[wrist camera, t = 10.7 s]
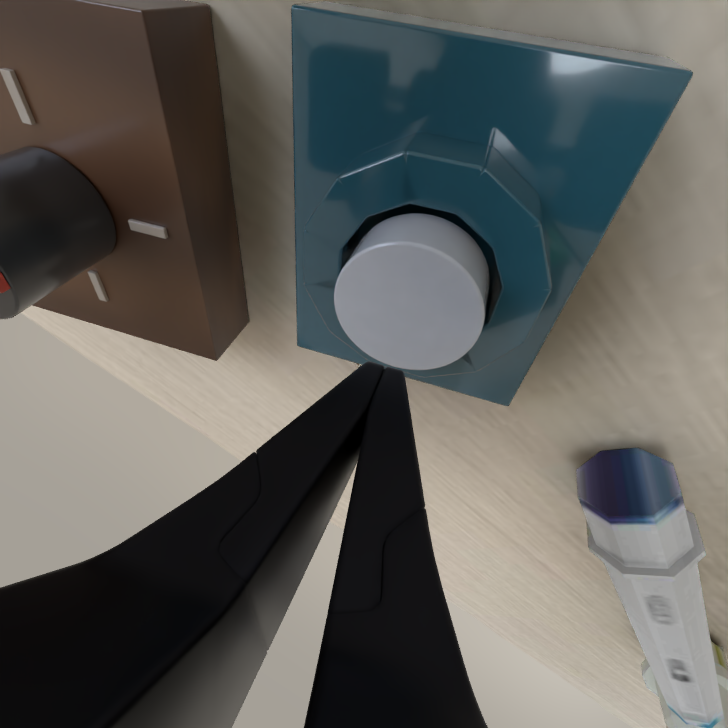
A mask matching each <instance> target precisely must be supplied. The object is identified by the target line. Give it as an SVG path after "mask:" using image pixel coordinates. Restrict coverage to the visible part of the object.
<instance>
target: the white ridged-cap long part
mask: <svg viewBox="0 0 728 728" xmlns="http://www.w3.org/2000/svg"><path fill="white" fill-rule="evenodd" d="M576 472H577V491H578V498H579V500H580V503H581V506H582V508H583V511H584V514H585V516H586V521H587V535H588V547H589V550H590V552H592V553H593V554H594V555H595V556H597V557H598V558H599V559H600V560H602V561H603V562H604V564H605V566H606V569H607V571H608V573H609V575H610V578H611V580H612V582H613V584H614V587H615V589H616V591H617V593H618V596H619V598H620V600H621V602H622V605H623V607H624V609H625V611H626V613H627V616H628V618H629V620H630V622H631V625H632V627H633V629H634V631H635V634H636V636H637V638H638V640H639V643H640V645H641V647H642V649H643V652H644V654H645V656H646V659H645V660H644V661H643V662H642V664H641V670H642V676H643V678H644V681H645V684H646V686H647V688H648V689H649V690H651V691H652V692H653V693H654V694H656V695H657V696H658V697H659V699H660V703H661V707H662V712H663V716H664V720H665V723H666V725H667V728H728V666H727V662H726V659H725V655H724V652H723V648H722V646H717V645H715V644H714V643H713V642H712V641H711V639H710V634H709V628H708V622H707V616H706V610H705V605H704V599H703V593H702V587H701V581H700V575H699V570H698V564H697V563H698V562H699V561H700V560H701V559H702V558H703V557H704V556H706V552H705V548H704V545H703V541H702V538H701V535H700V532H699V528H698V525H697V522H696V519H695V515H694V514H693V513H692V512H690V511H688V510H686V509H685V505H684V501H683V497H682V493H681V489H680V486H679V482H678V479H677V476H676V472H675V469H674V465H673V463H671V462H669V461H666V460H664V459H662V458H660V457H658V456H655V455H653V454H651V453H649V452H647V451H645V450H642V449H640V448H630V449H619V450H607V451H600V452H599V453H597V454H596V455H595V456H594V457H592V458H591V459H590V460H588V461H587V462H586V463H584V464H583V465H582V466H581V467H579V468H578V469H577V470H576Z"/></svg>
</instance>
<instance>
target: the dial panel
mask: <svg viewBox="0 0 728 728" xmlns="http://www.w3.org/2000/svg"><path fill="white" fill-rule="evenodd" d="M23 147H36V148H41V149H44V150H47V151H50V152H52V153H54V154H56V155H58V156H59V157H61V158H63V159H64V160H66V161H67V162H69V163H70V164H71V165H72V166H74V167H75V168H76V169H77V170H78V171H79V172H81V173H82V174H83V175H84V176H85V177H86V178H87V180H88V181H89V182H90V183H91V184H92V185H93V186H94V188H95V189H96V190H97V192H98V193H99V194H100V196H101V197H102V199H103V200H104V202H105V204H106V206H107V208H108V209H109V211H110V214H111V216H112V219H113V222H114V225H115V230H116V242H115V246H114V248H113V250H112V252H111V253H110V254H109V255H108V256H106V257H105V258H103V259H102V260H100V261H98V262H97V263H95V264H94V265H92V266H91V267H89V268H88V269H86V270H85V271H83V272H82V273H80V274H79V275H77V276H75V277H74V278H72V279H71V280H69V281H68V282H66V283H65V284H63V285H62V286H60V287H59V288H57V289H56V290H54V291H52V292H51V293H49V294H48V295H46V296H45V297H43V298H42V299H40V300H39V301H37V302H36V303H34V304H33V306H36V307H40V308H43V309H46V310H50V311H53V312H56V313H60V314H63V315H66V316H70V317H73V318H76V319H79V320H83V321H86V322H89V323H93V324H96V325H99V326H103V327H106V328H109V329H113V330H116V331H119V332H123V333H126V334H129V335H133V336H136V337H139V338H143V339H146V340H149V341H152V342H156V343H159V344H162V345H166V346H169V347H172V348H176V349H179V350H182V351H186V352H189V353H192V354H196V355H199V356H202V357H206V358H209V359H212V360H216V361H217V360H218V359H219V358H220V356H221V355H222V354H223V353H224V352H225V350H226V349H227V348H228V347H229V345H230V344H231V343H232V342H233V341H234V339H235V338H236V337H237V336H238V335H239V333H240V332H241V331H242V330H243V329H244V327H245V326H246V325H247V324H248V322H249V320H248V312H247V304H246V296H245V288H244V279H243V271H242V263H241V255H240V247H239V239H238V231H237V223H236V215H235V207H234V199H233V191H232V183H231V175H230V167H229V159H228V150H227V142H226V134H225V126H224V118H223V110H222V102H221V94H220V86H219V78H218V70H217V62H216V54H215V46H214V38H213V30H212V22H211V13H210V7H209V5H208V4H203V3H197V2H191V1H185V0H0V155H1V154H4V153H7V152H10V151H13V150H17V149H20V148H23Z"/></svg>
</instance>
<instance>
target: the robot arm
mask: <svg viewBox="0 0 728 728" xmlns="http://www.w3.org/2000/svg"><path fill="white" fill-rule="evenodd" d="M256 453H257V454H256ZM256 453H255V452H254V453H252V454H251V455H250V456H248V457H247V458H246V459H245V460H243V461H242V462H241V463H240V464H239V465H237V466H236V467H235V468H233V469H232V470H231V471H229V472H228V473H227V474H225V475H224V476H223V477H221V478H220V479H219V480H217V481H216V482H214V483H213V484H211V485H210V486H208V487H207V488H205V489H204V490H203V491H201V492H200V493H198V494H197V495H195V496H194V497H192V498H191V499H189V500H188V501H186V502H184V503H183V504H181V505H180V506H178V507H177V508H175V509H174V510H172V511H171V512H169V513H167V514H166V515H164V516H163V517H161V518H160V519H158V520H157V521H155V522H154V523H152V524H150V525H149V526H147V527H146V528H144V529H143V530H141V531H139V532H138V533H137V534H135V535H133V536H132V537H130V538H129V539H127V540H125V541H124V542H122V543H121V544H119V545H117V546H115V547H113V548H112V549H110V550H108V551H106V552H104V553H102V554H100V555H97V556H95V557H93V558H91V559H88V560H86V561H83V562H81V563H78V564H75V565H72V566H68V567H65V568H62V569H59V570H56V571H52V572H49V573H46V574H43V575H40V576H37V577H34V578H30V579H27V580H24V581H20V582H17V583H14V584H11V585H8V586H5V587H2V588H0V728H232V726H233V724H234V721H235V719H236V717H237V715H238V713H239V711H240V708H241V707H242V704H243V703H244V700H245V698H246V696H247V694H248V692H249V690H250V688H251V685H252V683H253V681H254V679H255V677H256V675H257V673H258V671H259V669H260V667H261V664H262V662H263V660H264V658H265V656H266V654H267V650H268V649H269V647H270V645H271V643H272V641H273V639H274V637H275V635H276V633H277V631H278V628H279V626H280V624H281V622H282V620H283V618H284V616H285V614H286V612H287V609H288V607H289V605H290V603H291V601H292V599H293V597H294V595H295V593H296V590H297V588H298V586H299V584H300V582H301V580H302V578H303V576H304V574H305V571H306V569H307V567H308V565H309V563H310V561H311V559H312V557H313V555H314V552H315V550H316V548H317V546H318V544H319V542H320V540H321V538H322V536H323V533H324V531H325V529H326V527H327V525H328V523H329V521H330V519H331V517H332V514H333V512H334V510H335V508H336V506H337V504H338V502H339V500H340V498H341V495H342V493H343V491H344V489H345V487H346V485H347V483H348V481H349V479H350V476H351V474H352V472H353V470H354V468H355V466H356V463H357V467H356V472H355V477H354V483H353V488H352V493H351V498H350V503H349V508H348V513H347V518H346V523H345V528H344V533H343V538H342V543H341V548H340V554H339V559H338V563H337V568H336V574H335V579H334V584H333V589H332V594H331V599H330V604H329V609H328V615H327V619H326V624H325V629H324V635H323V639H322V644H321V649H320V654H319V659H318V664H317V668H316V673H315V678H314V682H313V688H312V692H311V697H310V701H309V706H308V711H307V716H306V720H305V726H304V728H488V727H487V725H486V723H485V721H484V718H483V716H482V714H481V711H480V709H479V706H478V703H477V701H476V698H475V696H474V693H473V690H472V687H471V684H470V681H469V678H468V675H467V672H466V668H465V665H464V662H463V658H462V655H461V651H460V648H459V644H458V641H457V637H456V634H455V631H454V627H453V623H452V620H451V616H450V613H449V609H448V606H447V603H446V599H445V595H444V592H443V588H442V585H441V581H440V577H439V573H438V569H437V565H436V561H435V557H434V552H433V547H432V542H431V537H430V532H429V526H428V520H427V513H426V509H424V507H425V502H424V496H423V489H422V483H421V477H420V470H419V464H418V458H417V451H416V445H415V439H414V432H413V426H412V419H411V413H410V407H409V400H408V394H407V388H406V381H405V375H404V372H403V371H402V370H398V369H395V368H391V367H386V368H385V367H384V366H383V365H381V364H377V363H374V362H370V361H368V362H365V363H364V364H363V365H362V366H360V367H359V368H358V369H357V370H355V371H354V372H353V373H352V374H350V375H349V376H348V377H347V378H345V379H344V380H343V381H342V382H340V383H339V384H338V385H337V386H336V387H334V388H333V389H332V390H331V391H329V392H328V393H327V394H326V395H324V396H323V397H322V398H321V399H319V400H318V401H317V402H316V403H314V404H313V405H312V406H311V407H309V408H308V409H307V410H306V411H304V412H303V413H302V414H301V415H299V416H298V417H297V418H296V419H295V420H293V421H292V422H291V423H290V424H288V425H287V426H286V427H285V428H283V429H282V430H281V431H280V432H278V433H277V434H276V435H275V436H273V437H272V438H271V439H270V440H268V441H267V442H266V443H265V444H263V445H262V446H261V447H260V448H258V449H257V451H256ZM357 461H358V462H357Z"/></svg>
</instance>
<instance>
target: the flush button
mask: <svg viewBox="0 0 728 728" xmlns="http://www.w3.org/2000/svg"><path fill="white" fill-rule="evenodd" d="M489 284H490V276H489V269H488V265H487V262H486V259H485V256H484V254H483V252H482V250H481V249H480V247H479V246H478V244H477V243H476V242H475V240H474V239H473V238H472V237H471V236H470V235H469V234H468V233H467V232H465V231H464V230H463V229H462V228H460V227H459V226H457V225H455V224H454V223H452V222H450V221H448V220H446V219H443V218H440V217H437V216H434V215H428V214H418V213H411V214H402V215H398V216H394V217H391V218H388V219H386V220H384V221H382V222H380V223H378V224H377V225H375V226H374V227H373V228H372V229H370V230H369V231H368V232H367V233H366V234H365V235H364V237H363V238H362V239H361V241H360V242H359V244H358V245H357V247H356V248H355V250H354V251H353V253H352V254H351V256H350V258H349V259H348V261H347V262H346V264H345V265H344V267H343V268H342V270H341V272H340V274H339V276H338V278H337V281H336V284H335V290H334V304H335V311H336V314H337V317H338V320H339V322H340V324H341V326H342V328H343V330H344V331H345V333H346V334H347V336H348V337H349V338H350V339H351V341H352V342H353V343H354V344H355V345H356V346H357V347H359V348H360V349H361V350H362V351H363V352H365V353H366V354H368V355H369V356H371V357H373V358H374V359H376V360H378V361H380V362H383V363H385V364H388V365H391V366H393V367H398V368H402V369H409V370H429V369H435V368H439V367H442V366H446V365H448V364H450V363H453V362H454V361H456V360H458V359H460V358H461V357H462V356H464V355H465V354H466V353H467V352H468V351H469V350H470V349H471V348H472V347H473V346H474V344H475V343H476V342H477V340H478V338H479V336H480V334H481V332H482V329H483V326H484V320H485V313H486V306H487V299H488V291H489Z"/></svg>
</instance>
